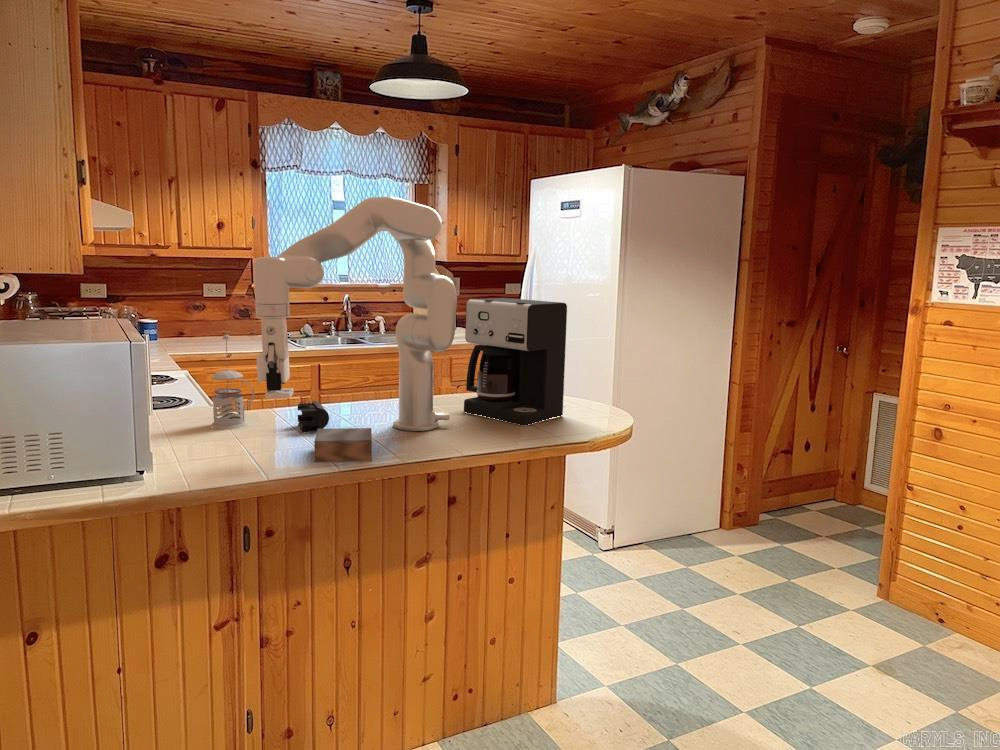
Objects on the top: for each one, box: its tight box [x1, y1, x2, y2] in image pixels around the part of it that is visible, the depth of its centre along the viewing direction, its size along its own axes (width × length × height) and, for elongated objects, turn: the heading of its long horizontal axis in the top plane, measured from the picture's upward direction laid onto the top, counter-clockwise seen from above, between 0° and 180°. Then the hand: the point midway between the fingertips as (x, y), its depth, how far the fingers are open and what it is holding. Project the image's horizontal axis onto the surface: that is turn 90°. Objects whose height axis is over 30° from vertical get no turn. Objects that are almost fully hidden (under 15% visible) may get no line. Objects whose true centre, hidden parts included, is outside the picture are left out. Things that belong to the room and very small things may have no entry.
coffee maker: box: [463, 297, 568, 426], centre depth 228 cm, size 28×20×35 cm
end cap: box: [297, 400, 330, 433], centre depth 205 cm, size 10×7×7 cm
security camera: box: [256, 351, 294, 399], centre depth 176 cm, size 6×7×10 cm
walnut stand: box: [314, 427, 373, 463], centre depth 180 cm, size 13×12×5 cm
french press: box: [210, 334, 255, 430], centre depth 205 cm, size 10×12×25 cm
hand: (276, 386), depth 176 cm, fingers closed on security camera, 6 cm apart
